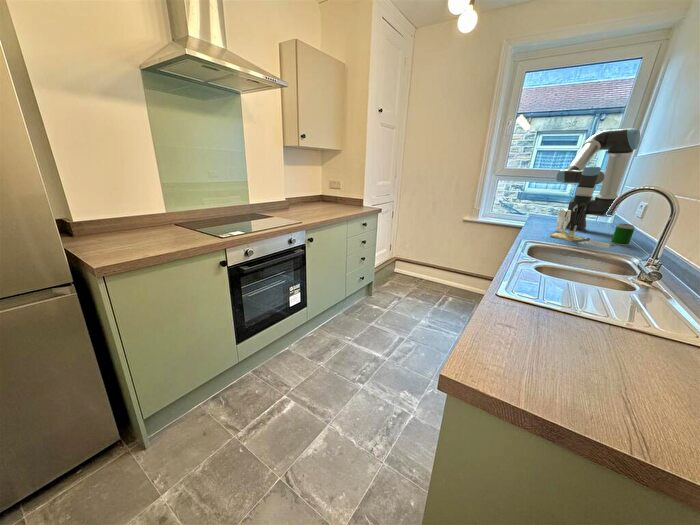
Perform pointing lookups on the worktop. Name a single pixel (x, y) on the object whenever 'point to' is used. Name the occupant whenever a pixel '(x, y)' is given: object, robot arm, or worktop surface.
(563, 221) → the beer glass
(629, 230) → the soda can
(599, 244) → the base leaf
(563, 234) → the swing leaf
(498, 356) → the worktop surface
